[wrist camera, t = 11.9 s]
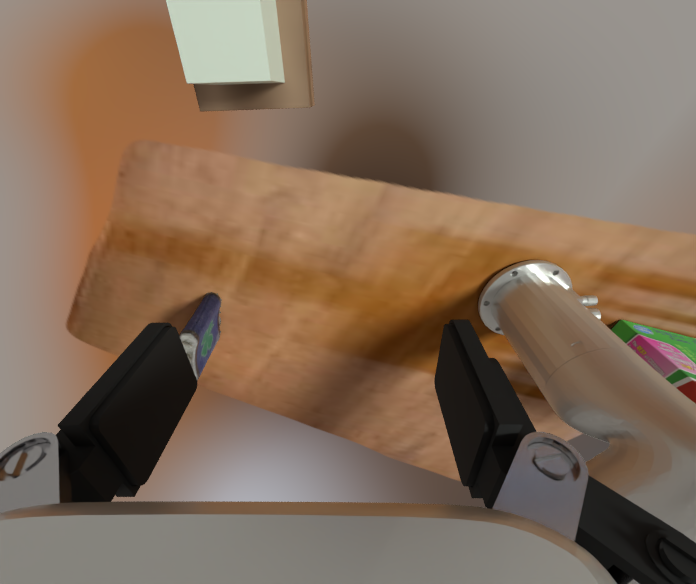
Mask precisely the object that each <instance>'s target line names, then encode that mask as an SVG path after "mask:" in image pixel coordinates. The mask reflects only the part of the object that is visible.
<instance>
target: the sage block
mask: <svg viewBox="0 0 696 584" xmlns="http://www.w3.org/2000/svg"><path fill="white" fill-rule="evenodd" d="M166 3H167V7H168V11H169V15H170V18H171V22H172V27H173V30H174V34H175V38H176V42H177V46H178V50H179V53H180V58H181V62H182V66H183V70H184V74H185V78H186V82H187V83H189V84H190V83H191V84H209V85H228V84H259V83H285V80H284V71H283V62H282V53H281V44H280V35H279V26H278V17H277V9H276V0H166Z"/></svg>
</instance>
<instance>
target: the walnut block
mask: <svg viewBox="0 0 696 584" xmlns="http://www.w3.org/2000/svg"><path fill="white" fill-rule="evenodd" d="M276 9H277V17H278V26H279V35H280V44H281V53H282V62H283V71H284V80H285V83H259V84H228V85H209V84H194V88H195V92H196V96H197V100H198V104H199V108H200V111H224V110H253V109H280V108H305V107H306V108H307V107H312V106H314V105H315V103H314V90H313V77H312V64H311V50H310V39H309V38H310V37H309V25H308V11H307V0H276Z"/></svg>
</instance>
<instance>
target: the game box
mask: <svg viewBox="0 0 696 584" xmlns="http://www.w3.org/2000/svg"><path fill="white" fill-rule="evenodd" d="M611 331H612V332H613V333H615V334H616V335H617V336H618V337H619V338H620V339H621V340H622V341H623V342H625V343H626V344H627V345H628V346H629V347H630V348H631V349H632V350H633V351H634V352H636V353H637V354H638V355H639V356H640V357H641V358H642V359H643V360H644V361H646V362H647V363H648V364H649V365H650V366H651V367H652V368H653V369H654V370H656V371H657V372H658V373H659V374H660V375H661V376H663V377H664V378H665V379H666V380H667V381H668V382H670V383H671V384H672V385H673V386H674V387H675V388H677V389H678V390H679V391H680V392H682V393H683V394H684V395H685V396H686V397H688V398H689V399H690V400H691V401H693V402H694V403H695V404H696V339H695V338H691V337H687V336H684V335H680V334H676V333H672V332H668V331H664V330H660V329H656V328H652V327H648V326H644V325H640V324H636V323H633V322H629V321H625V320H620V321H619V322H618V323H617V324H616V325H615V326H614V327H613V328H612V329H611Z"/></svg>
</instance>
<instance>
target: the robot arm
mask: <svg viewBox="0 0 696 584" xmlns="http://www.w3.org/2000/svg"><path fill="white" fill-rule="evenodd" d="M597 302H598V299H597V297H596V296H594V295H588V296H579V295H578V294H577V293H576V292H574V291H573V290H572V283H571V279H570V277H569V276H568V274H567V273H566V272H565V271H564V270H563V269H562V268H560V267H559V266H557V265H556V264H554V263H551V262H548V261H543V260H529V261H524V262H520V263H517V264H514V265H512V266H510V267H508V268H506V269H504V270H502V271H501V272H499V273H498V274H497V275H495V276H494V277H493V278H492V279H491V280H490V281H489V282H488V283H487V285H486V286H485V287H484V289H483V291H482V293H481V295H480V298H479V301H478V311H479V315H480V317H481V319H482V321H483V322H484V324H485V325H486V326H487V327H488V328H489V329H490V330H492V331H493V332H495V333H498V334H502V335H505V336H506V338H507V340H508V341H509V343H510V344H511V346H512V347H513V349H514V350H515V352H516V354H517V355H518V357H519V358H520V360H521V361H522V363H523V364H524V366H525V367H526V369H527V371H528V372H529V374H530V375H531V377H532V378H533V380H534V381H535V383H536V385H537V386H538V388H539V389H540V391H541V392H542V394H543V395H544V397H545V398H546V400H547V401H548V403H549V405H550V406H551V408H552V409H553V410H554V412H555V413H556V414H557V415H558V416H559V417H560V418H561V419H562V420H563V421H564V422H565V423H566V424H568V425H569V426H571V427H572V428H574V429H576V430H578V431H580V432H582V433H584V434H587V435H589V436H591V437H594V438H597V439H599V440H602V441H605V442H608V443H610V446H609V448H608V449H606V450H605V451H604V452H602V453H601V454H598V455H597V456H595V457H594V458H593V459H591V460H590V461H587V462H585V461H584V459H583V458H582V456H581V455H580V454H579V452H578V451H577V450H576V449H575V448H574V447H573V446H571V445H570V444H569V443H568V442H566V441H565V440H563V439H561V438H560V437H557V436H555V435H553V434H550V433H545V432H536V430H535V428H534V426H533V424H532V422H531V421H530V419H529V417H528V415H527V413H526V411H525V410H524V408H523V406H522V404H521V402H520V400H519V399H518V397H517V395H516V393H515V391H514V389H513V388H512V386H511V384H510V382H509V380H508V378H507V377H506V375H505V373H504V371H503V369H502V367H501V366H500V364H499V362H498V361H497V360H496V359H495V358H488V356H487V354H486V352H485V350H484V348H483V346H482V344H481V342H480V340H479V338H478V336H477V334H476V332H475V331H474V329H473V327H472V325H471V323H470V321H469V320H450V323H449V324H445V325H444V329H443V334H442V340H441V346H440V351H439V357H438V363H437V368H436V374H435V389H436V393H437V396H438V400H439V403H440V407H441V411H442V414H443V418H444V421H445V425H446V429H447V432H448V436H449V439H450V443H451V446H452V450H453V454H454V457H455V461H456V464H457V468H458V471H459V475H460V479H461V482H462V484H463V486H469V490H470V493H471V497H472V498H483V500H484V503H485V506H486V507H487V508H482V507H474V506H460V505H447V504H414V503H412V504H411V503H352V502H350V503H349V502H348V503H346V502H344V503H343V502H111V501H112V499H113V497H114V496H115V495H116V496H117V497H135V495H136V493H137V491H138V489H139V488H140V486H141V485H143V484H145V483H146V482H147V480H148V479H149V477H150V475H151V473H152V471H153V469H154V467H155V465H156V464H157V462H158V460H159V458H160V456H161V454H162V452H163V450H164V449H165V447H166V445H167V443H168V441H169V439H170V437H171V436H172V434H173V432H174V430H175V428H176V426H177V424H178V422H179V421H180V419H181V417H182V415H183V413H184V411H185V409H186V407H187V406H188V404H189V402H190V400H191V398H192V396H193V395H194V393H195V391H196V388H197V379H196V376H195V374H194V371H193V369H192V366H191V364H190V361H189V359H188V356H187V354H186V351H185V349H184V346H183V344H182V341H181V339H180V336H179V334H178V331H177V329H176V328H175V327H172V325H171V324H170V323H150V324H148V325H147V326H146V327H145V329H144V330H143V331H142V332H141V333H140V334H139V335H138V336H137V337H136V339H135V340H134V341H133V342H132V343H131V344H130V345H129V346H128V347H127V349H126V350H125V351H124V352H123V353H122V354H121V355H120V356H119V357H118V359H117V360H116V361H115V362H114V363H113V364H112V365H111V366H110V367H109V369H108V370H107V371H106V372H105V373H104V374H103V375H102V376H101V378H100V379H99V380H98V381H97V382H96V383H95V384H94V385H93V386H92V388H91V389H90V390H89V391H88V392H87V393H86V394H85V395H84V397H82V399H81V400H80V401H79V402H78V403H77V404H76V405H75V406H74V408H73V409H72V410H71V411H70V412H69V413H68V414H67V415H66V417H65V418H64V419H63V420H62V421H61V422H60V423H59V424H58V427H59V428H60V429H61V430H60V431H59V432H58V433H57V434H56V435H54V434H52V433H47V432H43V433H38V434H33V435H31V436H28V437H25V438H23V439H21V440H19V441H18V442H16V443H14V444H12V445H11V446H9V447H8V448H6V449H5V450H4V451H2V452H1V453H0V584H696V404H695V403H694V402H693V401H691V400H690V399H689V398H688V397H686V396H685V395H684V394H683V393H682V392H680V391H679V390H678V389H677V388H675V387H674V386H673V385H672V384H671V383H670V382H668V381H667V380H666V379H665V378H664V377H663V376H661V375H660V374H659V373H658V372H657V371H656V370H654V369H653V368H652V367H651V366H650V365H649V364H648V363H647V362H646V361H644V360H643V359H642V358H641V357H640V356H639V355H638V354H637V353H636V352H634V351H633V350H632V349H631V348H630V347H629V346H628V345H627V344H626V343H625V342H623V341H622V340H621V339H620V338H619V337H618V336H617V335H616V334H615V333H613V332H612V331H611V330H610V329H609V328H608V327H607V326H606V325H605V324H604V323H602V322H601V321H600V318H601V314H600V311H599V310H598V309H596V308H586V307H585V306H590V305H596V304H597Z"/></svg>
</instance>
